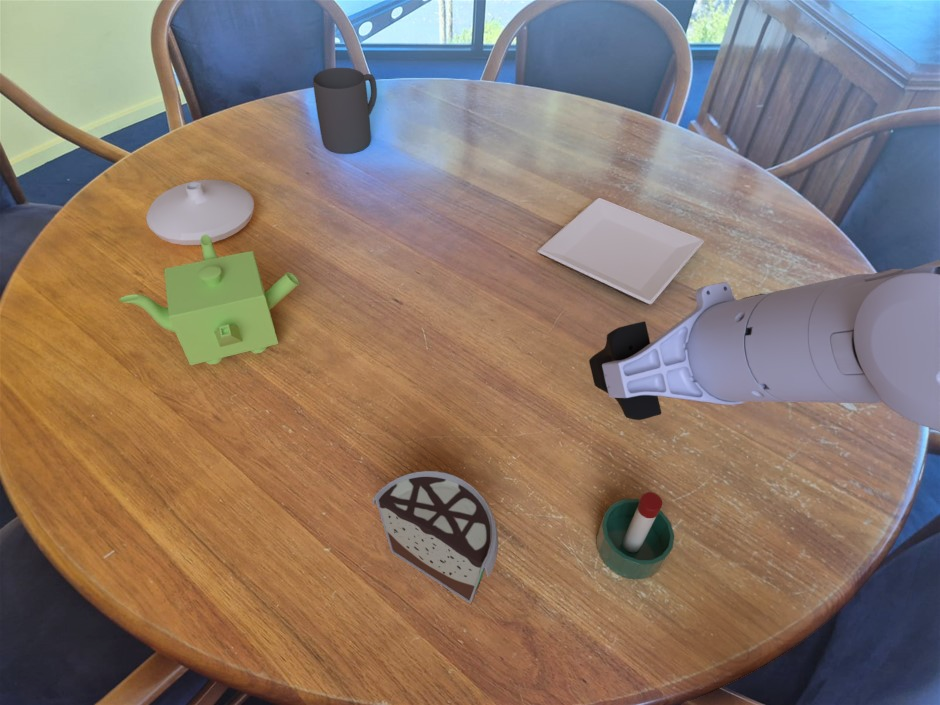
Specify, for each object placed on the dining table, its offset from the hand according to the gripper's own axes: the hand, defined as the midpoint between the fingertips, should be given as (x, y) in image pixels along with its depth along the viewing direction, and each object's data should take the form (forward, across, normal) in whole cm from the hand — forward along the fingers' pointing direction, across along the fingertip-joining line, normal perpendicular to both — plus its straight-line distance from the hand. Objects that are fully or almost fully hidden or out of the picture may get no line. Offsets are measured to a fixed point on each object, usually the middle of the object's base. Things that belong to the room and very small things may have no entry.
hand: (642, 360), depth 44 cm
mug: (+77, +2, -48) cm, 91 cm away
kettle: (+47, +30, -12) cm, 57 cm away
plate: (+44, -28, -12) cm, 54 cm away
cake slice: (+22, +13, +16) cm, 30 cm away
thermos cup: (+17, -5, +19) cm, 26 cm away
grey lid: (+64, +30, -32) cm, 78 cm away
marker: (+17, -5, +19) cm, 26 cm away
